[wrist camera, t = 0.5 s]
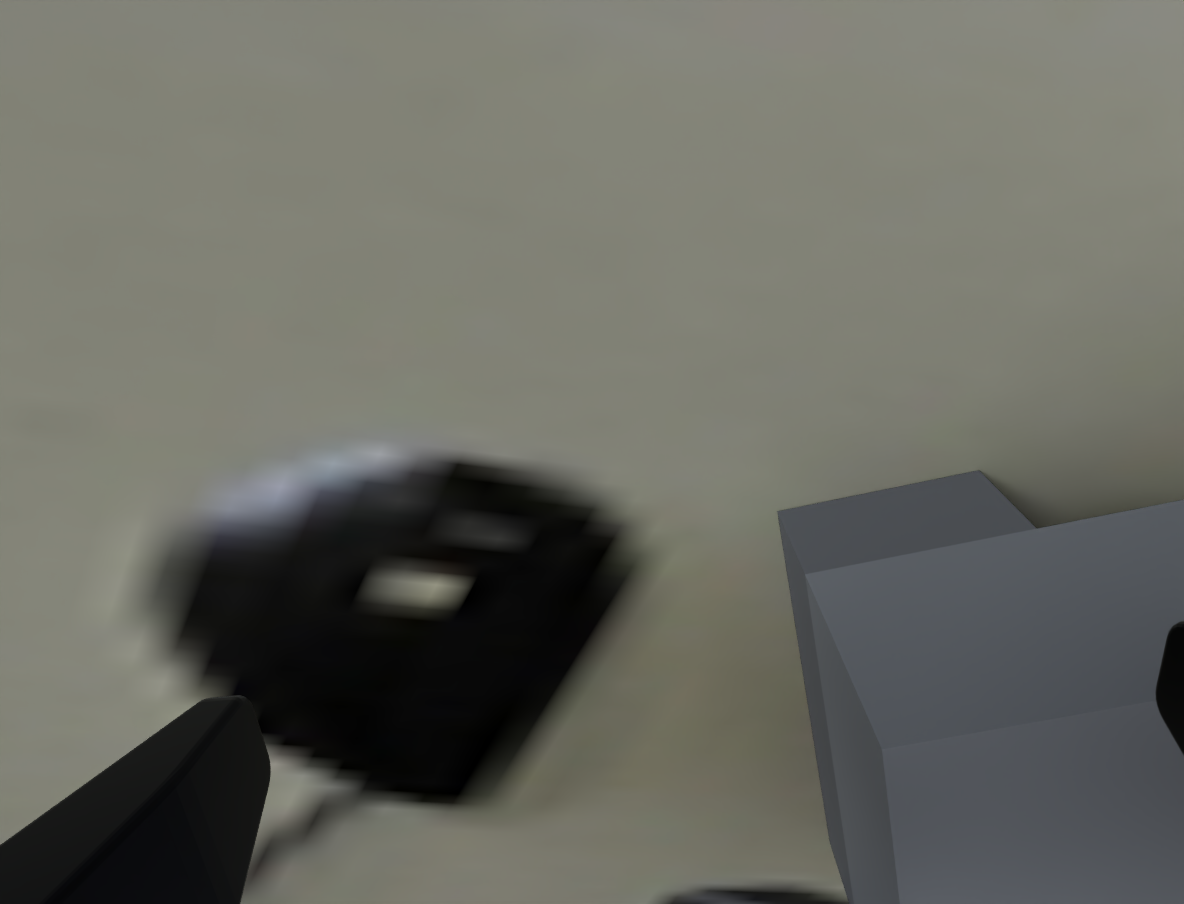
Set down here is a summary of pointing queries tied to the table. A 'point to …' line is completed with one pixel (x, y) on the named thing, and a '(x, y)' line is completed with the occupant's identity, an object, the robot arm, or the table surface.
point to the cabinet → (990, 696)
